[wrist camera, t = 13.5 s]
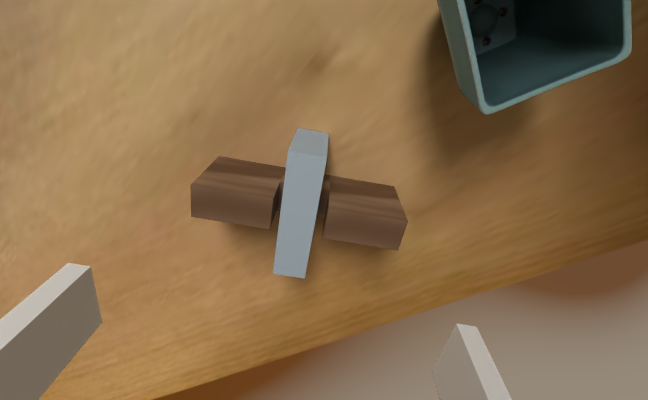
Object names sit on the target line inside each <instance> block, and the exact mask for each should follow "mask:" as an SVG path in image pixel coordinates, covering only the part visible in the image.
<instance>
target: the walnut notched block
mask: <svg viewBox="0 0 648 400" xmlns="http://www.w3.org/2000/svg"><path fill="white" fill-rule="evenodd" d="M285 171H286V168H284V167H278V166H272V165H266V164H260V163H255V162H249V161H243V160H237V159H232V158H226V157H220V156H219V157H218V158H217V159H216V160H215V161H214V162H213V163H212V164H211V165H210V166H209V167H208V168H207V169H206V170H205V171H204V172H203V173H202V174H201V175H200V176H199V177H198V178H197V179H196V180H195V181H194V182H193V183H192V184H191V217H196V218H202V219H208V220H215V221H221V222H227V223H233V224H239V225H245V226H251V227H257V228H263V229H270V227H271V224H272V222H273V219H274V216H275V213H276V210H280V211H281V203H282V195H283V187H284V179H285ZM316 217H322V218H324V224H323V238H325V239H331V240H337V241H343V242H349V243H355V244H361V245H367V246H373V247H380V248H386V249H392V250H398V249H399V246H400V243H401V240H402V237H403V234H404V231H405V228H406V226H407V223H408V221H407V218H406V215H405V213H404V210H403V208H402V205H401V203H400V200H399V198H398V195H397V193H396V190H395V188H394V187H393V186H387V185H382V184H376V183H370V182H364V181H359V180H353V179H347V178H341V177H335V176H330V175H324V177H323V182H322V188H321V193H320V199H319V204H318V209H317V215H316Z"/></svg>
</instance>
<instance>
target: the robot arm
mask: <svg viewBox="0 0 648 400" xmlns="http://www.w3.org/2000/svg"><path fill="white" fill-rule="evenodd" d="M101 323H102V319H101V314H100V309H99V305H98V300H97V295H96V290H95V285H94V280H93V275H92V271H91V266H85V265H78V264H72V263H67V264H66V265H65V266H64V267H63V268H61V269H60V270H59V271H58V272H57V273H55V274H54V275H53V276H52V277H51V278H49V279H48V280H47V281H46V282H45V283H43V284H42V285H41V286H40V287H39V288H37V289H36V290H35V291H34V292H33V293H31V294H30V295H29V296H28V297H27V298H25V299H24V300H23V301H22V302H21V303H19V304H18V305H17V306H16V307H15V308H14V309H12V310H11V311H10V312H9V313H8V314H6V315H5V316H4V317H3V318H2V319H0V400H38V399H39V398H40V397H41V396H42V394H43V393H44V392H45V391H46V390H47V388H48V387H49V386H50V385H51V384H52V382H53V381H54V380H55V379H56V377H57V376H58V375H59V374H60V373H61V371H62V370H63V369H64V368H65V367H66V365H67V364H68V363H69V362H70V361H71V359H72V358H73V357H74V356H75V355H76V353H77V352H78V351H79V350H80V348H81V347H82V346H83V345H84V344H85V342H86V341H87V340H88V339H89V338H90V336H91V335H92V334H93V333H94V332H95V330H96V329H97V328H98V327H99V325H100V324H101ZM432 373H433V377H434V380H435V384H436V387H437V391H438V394H439V398H440V400H512V399H511V397H510V395H509V393H508V391H507V389H506V387H505V384H504V382H503V380H502V378H501V376H500V374H499V372H498V370H497V368H496V366H495V364H494V362H493V360H492V358H491V356H490V354H489V351H488V349H487V347H486V345H485V343H484V341H483V339H482V338H481V335H480V333H479V331H478V329H477V327H476V326H469V325H463V324H456V325H455V327H454V329H453V331H452V333H451V335H450V337H449V339H448V341H447V343H446V344H445V347H444V348H443V350H442V352H441V354H440V356H439V358H438V360H437V362H436V364H435V366H434V368H433V370H432Z"/></svg>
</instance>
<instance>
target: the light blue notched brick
mask: <svg viewBox="0 0 648 400" xmlns="http://www.w3.org/2000/svg"><path fill="white" fill-rule="evenodd" d="M328 139H329V133H323V132H318V131H312V130H306V129H301V128H298V129H297V131H296V134H295V136H294V138H293V141H292V143H291V145H290V148H289V150H288V155H287V163H286V171H285V179H284V187H283V195H282V203H281V211H280V219H279V227H278V235H277V243H276V251H275V259H274V267H273V274H279V275H285V276H291V277H298V278H304V279H305V274H306V269H307V263H308V258H309V253H310V247H311V242H312V236H313V231H314V226H315V220H316V215H317V209H318V204H319V199H320V193H321V188H322V182H323V177H324V172H325V166H326V161H327V152H328Z"/></svg>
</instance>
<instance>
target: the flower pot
mask: <svg viewBox="0 0 648 400" xmlns="http://www.w3.org/2000/svg"><path fill="white" fill-rule="evenodd" d="M437 2H438V6H439V10H440V14H441V18H442V22H443V26H444V30H445V34H446V38H447V42H448V46H449V50H450V55H451V59H452V63H453V67H454V72H455V77H456V80H457V84H458V86H459V88H460V91H461V92H462V93H463V95H464V96H465V97H466V98H467V99H468V100H469V101H470V102H471V103H472V104H473V105H474V106H475V107H476V108H477V109H478V110H479V111H480V112H481V113H483V114H484V115H490V114H493V113H495V112H498V111H501V110H503V109H505V108H507V107H510V106H512V105H515V104H517V103H519V102H522V101H524V100H526V99H529V98H531V97H534V96H536V95H538V94H541V93H543V92H546V91H548V90H551V89H553V88H556V87H558V86H560V85H563V84H565V83H568V82H570V81H573V80H575V79H578V78H581V77H583V76H586V75H588V74H591V73H593V72H596V71H599V70H601V69H604V68H607V67H610V66H612V65H615V64H617V63H619V62H621V61H622V60H624V59H626V58H627V57H628V56H629V55H630V53H631V50H632V24H631V20H632V16H631V0H480V2H479V3H478V4H475V3H474V0H437ZM501 8H503V9H504V10H505V12H504V14H503V15H501V16H500V15H499V10H500V9H501ZM485 38H487V39H488V43H487V44H486V45H483V44H482V41H483V39H485Z"/></svg>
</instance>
